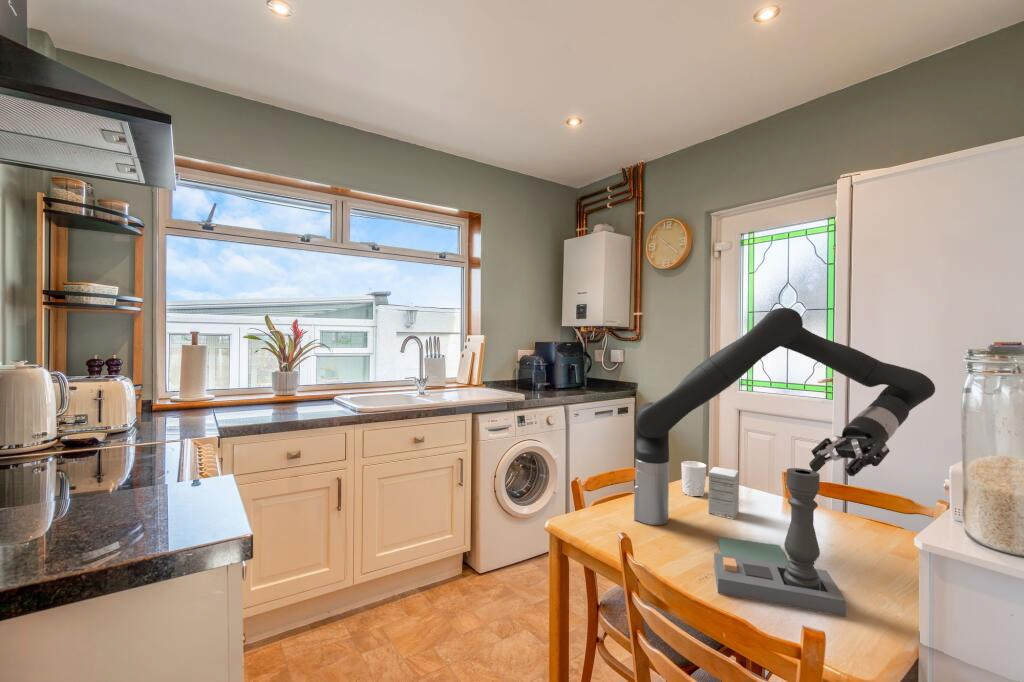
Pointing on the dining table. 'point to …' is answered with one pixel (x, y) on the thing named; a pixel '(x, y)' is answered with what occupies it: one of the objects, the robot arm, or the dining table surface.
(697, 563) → the dining table surface
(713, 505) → the supplement box
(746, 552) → the mat
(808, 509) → the candle holder
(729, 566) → the grey compartment tray
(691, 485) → the white cup
